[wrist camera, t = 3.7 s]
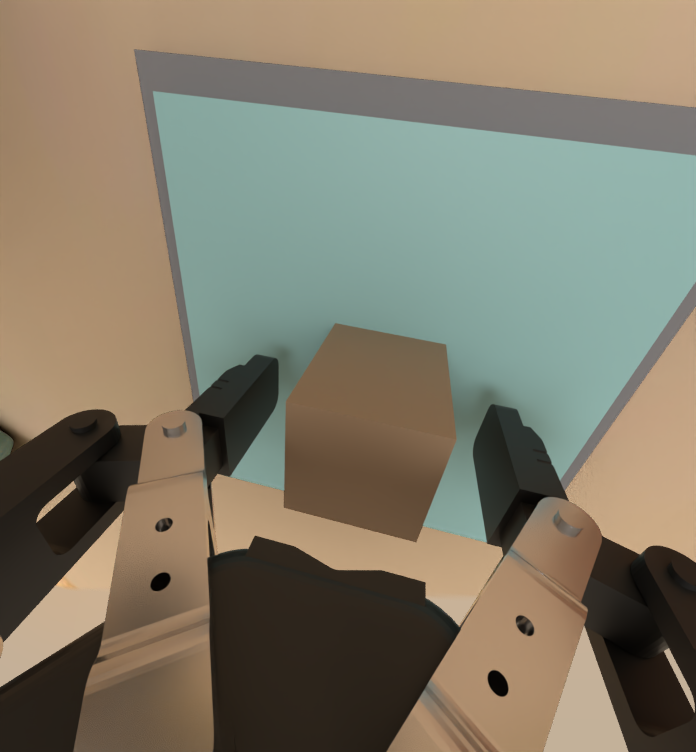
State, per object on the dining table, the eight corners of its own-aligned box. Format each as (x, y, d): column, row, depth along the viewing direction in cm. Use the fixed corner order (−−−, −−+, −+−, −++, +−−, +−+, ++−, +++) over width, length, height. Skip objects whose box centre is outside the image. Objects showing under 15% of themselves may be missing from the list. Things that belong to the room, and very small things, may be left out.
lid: (219, 461, 19) (145, 561, 14) (170, 96, 10) (-67, 21, 5) (509, 534, 17) (543, 679, 12) (747, 165, 8) (1196, 149, 3)
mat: (209, 463, 20) (204, 469, 19) (146, 54, 10) (134, 49, 10) (520, 541, 18) (522, 550, 17) (806, 124, 8) (827, 120, 8)
